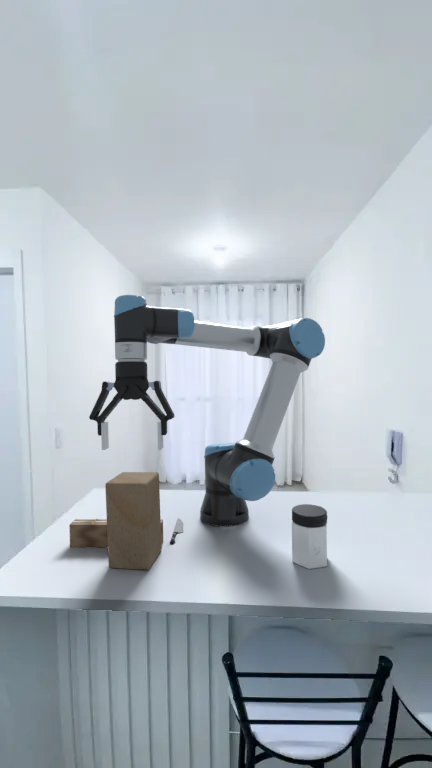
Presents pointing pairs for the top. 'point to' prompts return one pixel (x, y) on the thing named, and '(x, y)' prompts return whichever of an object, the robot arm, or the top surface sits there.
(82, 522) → the brown wooden bar
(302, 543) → the jar
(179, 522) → the chef's knife
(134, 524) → the wooden block
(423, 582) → the top surface
